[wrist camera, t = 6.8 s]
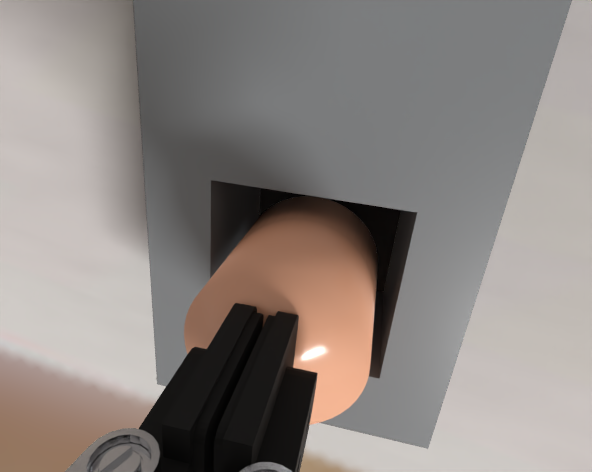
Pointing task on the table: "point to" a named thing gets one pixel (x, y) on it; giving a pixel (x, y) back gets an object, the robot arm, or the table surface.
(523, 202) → the table surface
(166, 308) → the plunger housing
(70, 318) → the table surface
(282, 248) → the peach rounded cylinder
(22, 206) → the table surface
